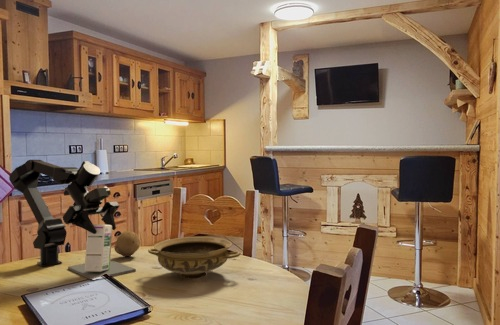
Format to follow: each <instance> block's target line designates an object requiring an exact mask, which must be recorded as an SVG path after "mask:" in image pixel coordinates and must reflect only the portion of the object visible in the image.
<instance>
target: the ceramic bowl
mask: <svg viewBox="0 0 500 325" xmlns="http://www.w3.org/2000/svg"><path fill="white" fill-rule="evenodd" d="M232 245H233V243H232V241H230V240H229V239H225V238H223V237H214V236H183V237H177V238H176V237H175V238H171V239H170V238H169V239H166V240H163V241H160V242H158V243H156V244H154V246H153V248H148V250H147V251H148V253H149V254H151V255H154V256H156V257H157V261H158V263H159V265H160V266H161V268H164V269H165V270H167V271H170V272H172V273H177V274H180V277H181V278H182V279H186V280H195V279H196V280H197V279H202V278H205V277H206V276H207V275H208V274H207V272H210V271H213V270H215V269H216V270H217V269H218V268H220V267H221V266H223V265H224V264H225V263H226V262H227V261H228V259H233V258H234V259H235V258H238V257H239V256H241V252H240V251H228V249H230V248H231V247H232Z"/></svg>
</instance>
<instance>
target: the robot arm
mask: <svg viewBox="0 0 500 325" xmlns="http://www.w3.org/2000/svg"><path fill="white" fill-rule="evenodd" d="M90 162H91V161H89V160H87V161H86V160H83V161H82V163H81V165H80V167H79V168H78V167H75V166H59V165H57V164H53V163H50V162H47V161H44V160H42V159H28V160H26V161H25V163H23V164H21V165H19V166H17V167H15V168H14V169H13V170H12V171H11V173H10V174H9V176H8V180H9V182H10V183H11V185H12V186H13V188H14V189H15V190H17V191H18V192H20V193H21V194H22V195H23V197H24V198H25V201H26V203H27V205H28V206H29V208H30V210H31V212H32V214H33V217H34V218H35V220H36V222H37V224H38V225H37V231H36V234H37V236H36V238H35V239H34V240H33V241H32V244H33V248H34V249H36V250H37V249H38V250H40V252H39V253H40V257H39V260H40V261H38V262H37V263H36V265H38V266H40V267H42V268H44V267H49V266H54V265H59V264H60V265H61V264H63V261H62V260H59V246H65V243H66V238H67V233H68V232H67V229H66V226H65V224H66V225H70V224H71V225H72V226H77V227H79V228H81V229H84V230H85V231H89V232H91V233H93V234H96V232H97V231H96V229H95V227H94V225H93V222H92V220H91V219H90V217H89V216H93V215H94V216H95V215H100V217H102V218H101V221H102V222H103V223H104V224H105V225H112V231H115V230H116V229H117V226H116V221H115V216H114V214H115V213H116V212H117V211H118V209H119V208H120V204H119V203H118V201H113V200H112V201H106V202H105V203H104V204H103V200H105V199H107V198H108V197H109V196H110V195H111V194H112V193H111V189H110V188H109V187H108V186H103V187H95V188H93V189H91V190H90V189H89V188H88V187H91V186H92V185H93V184H94V183H95V181H96V179H98V177H99V175H100V173H101V169H100V167H99V166H97V165H95V164H93V163H90ZM41 174H42V175H44V176H48V177H49V178H52V181H53V182H54V183H56V184H58V185H67V186H66V187H64V191H63V196H70V197H71V199H72V200H73V201H74V203H73V204H72V205H69V206H68V208H67V210H65V212H64V214H63V216H62V219H61V218H55V217H53V215H52V212H51V211H50V210H49V208H48V206H47V204H46V202H45V200H44V198H43V197H42V196H43V195H42V194H41V193H40V191H39V188H38V183H39V178H40V177H41ZM102 204H103V206H102V207H101V205H102ZM63 222H64V223H63Z"/></svg>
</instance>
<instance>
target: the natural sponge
mask: <svg viewBox="0 0 500 325" xmlns="http://www.w3.org/2000/svg"><path fill="white" fill-rule="evenodd" d="M140 246H141V240H140V238H139V235H138V234H137V233H136V232H134V231H132V230H126V231H125V230H124V231H123V232H122V233H120V234H119V236H118V237H117V239H116V241H115V244H114V252H116V253H117V254H118V255H120V256H122V257H124V256H130V257H132V256H133V255H134V254H135V253H137V251H138V250H139V248H140ZM131 255H132V256H131Z"/></svg>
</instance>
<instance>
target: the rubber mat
mask: <svg viewBox="0 0 500 325" xmlns="http://www.w3.org/2000/svg"><path fill="white" fill-rule="evenodd" d="M67 269H68V271H69V270H70V271H72V272H73V273H76V274H78V275H80V276H82V277H84V278H86V279H88V280H90V278H94V277H98V276H101V275H104V274H108V275H110V276H112V277H116V276H121V275H125V274H130V273H135V272H136V271H137V270H136V268H134V267H131V266H129V265H126V264H123V263H121V262H117V261H115V260H113V259H110V269H109V270H105V271H102V272H93V271H85V262H84V263H80V264H75V265H69V266H67ZM112 277H111V278H112Z"/></svg>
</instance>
